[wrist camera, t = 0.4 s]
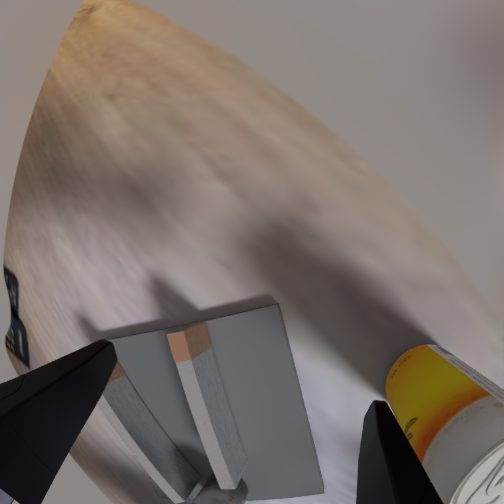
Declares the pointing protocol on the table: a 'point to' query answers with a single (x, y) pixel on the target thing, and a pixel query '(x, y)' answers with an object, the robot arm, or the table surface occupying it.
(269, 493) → the charcoal mat
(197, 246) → the table surface
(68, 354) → the robot arm
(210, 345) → the arm
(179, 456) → the tongs hinged arm
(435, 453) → the beer can
